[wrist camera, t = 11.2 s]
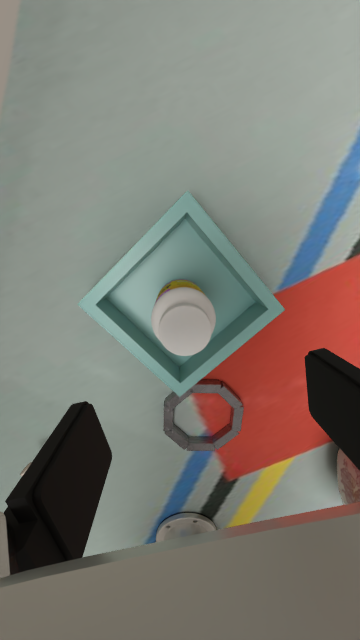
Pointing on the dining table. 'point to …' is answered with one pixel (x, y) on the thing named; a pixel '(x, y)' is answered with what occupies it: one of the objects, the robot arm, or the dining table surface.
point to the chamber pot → (347, 479)
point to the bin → (190, 264)
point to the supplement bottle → (183, 318)
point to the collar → (204, 442)
